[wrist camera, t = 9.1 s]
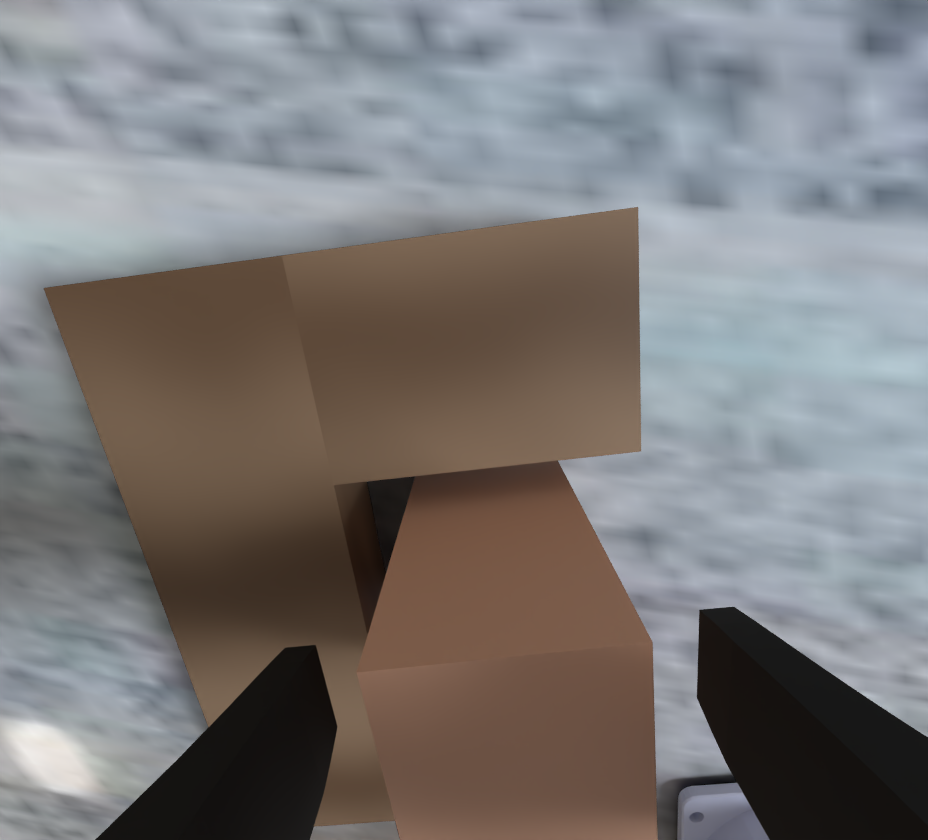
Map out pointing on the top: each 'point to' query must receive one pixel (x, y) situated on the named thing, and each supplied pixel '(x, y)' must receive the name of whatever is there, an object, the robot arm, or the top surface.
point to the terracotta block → (509, 668)
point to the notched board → (341, 425)
